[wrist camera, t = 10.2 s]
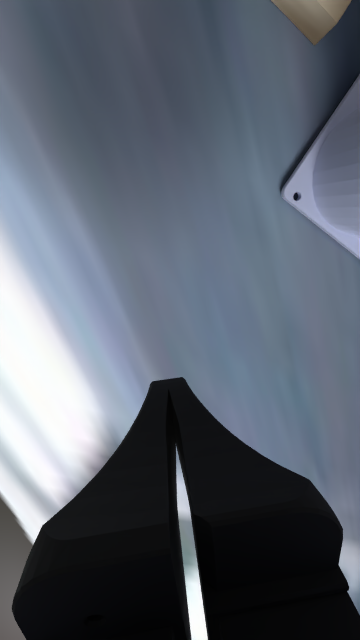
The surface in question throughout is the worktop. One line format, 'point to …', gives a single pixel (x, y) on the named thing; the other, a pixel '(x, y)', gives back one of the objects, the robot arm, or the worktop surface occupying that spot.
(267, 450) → the worktop surface
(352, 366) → the worktop surface
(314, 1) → the trap deck
